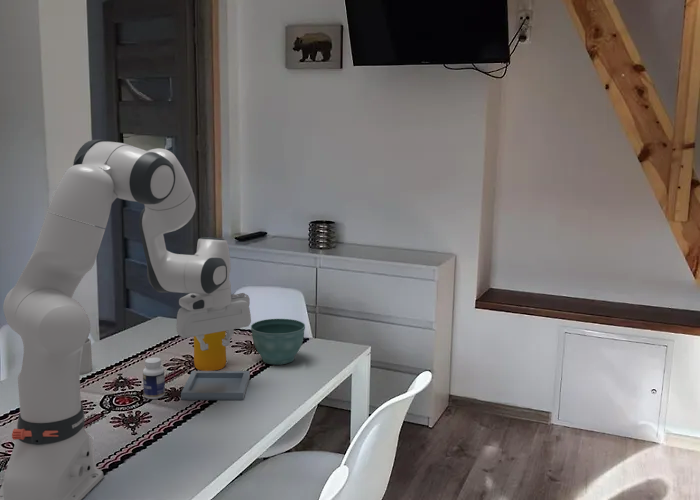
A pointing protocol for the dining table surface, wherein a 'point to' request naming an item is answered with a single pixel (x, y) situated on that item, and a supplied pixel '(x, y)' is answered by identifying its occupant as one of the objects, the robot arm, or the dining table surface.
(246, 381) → the dish
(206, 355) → the beer bottle
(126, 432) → the dining table surface
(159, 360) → the pill bottle
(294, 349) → the flower pot
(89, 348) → the cup
